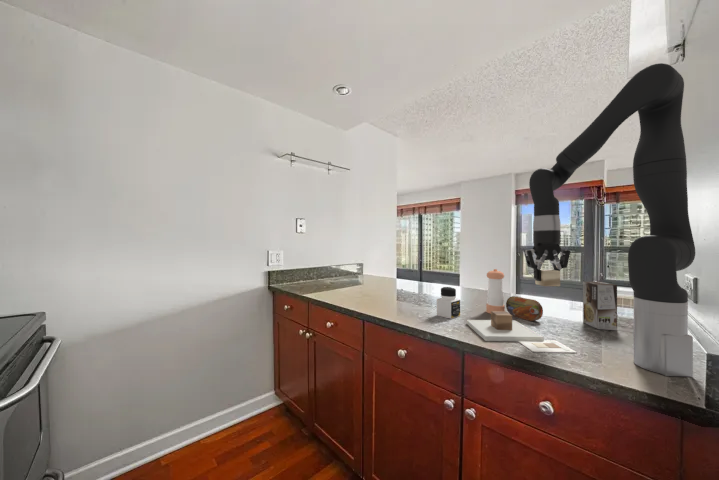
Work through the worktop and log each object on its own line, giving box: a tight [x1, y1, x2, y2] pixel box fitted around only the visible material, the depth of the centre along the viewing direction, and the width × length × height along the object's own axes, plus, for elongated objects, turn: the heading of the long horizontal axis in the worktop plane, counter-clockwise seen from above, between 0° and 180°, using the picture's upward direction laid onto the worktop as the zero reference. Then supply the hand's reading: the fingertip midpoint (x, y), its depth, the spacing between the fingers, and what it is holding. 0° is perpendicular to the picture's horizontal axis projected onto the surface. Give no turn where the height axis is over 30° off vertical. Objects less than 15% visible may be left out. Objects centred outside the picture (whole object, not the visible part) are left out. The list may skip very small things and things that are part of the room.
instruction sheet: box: [517, 339, 578, 354], centre depth 84 cm, size 9×12×1 cm
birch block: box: [535, 269, 561, 287], centre depth 92 cm, size 5×5×5 cm
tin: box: [505, 296, 544, 322], centre depth 114 cm, size 15×3×8 cm, turn 21°
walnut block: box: [490, 310, 513, 330], centre depth 97 cm, size 5×5×5 cm
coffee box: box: [582, 280, 618, 331], centre depth 103 cm, size 9×6×16 cm
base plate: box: [466, 319, 545, 342], centre depth 97 cm, size 18×18×2 cm
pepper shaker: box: [485, 268, 506, 315], centre depth 122 cm, size 7×7×19 cm
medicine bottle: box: [436, 286, 461, 320], centre depth 118 cm, size 7×7×12 cm
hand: (547, 280), depth 92 cm, fingers closed on birch block, 5 cm apart
